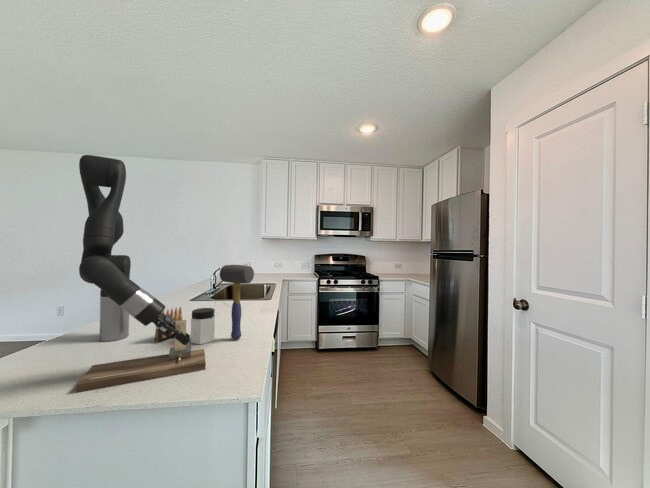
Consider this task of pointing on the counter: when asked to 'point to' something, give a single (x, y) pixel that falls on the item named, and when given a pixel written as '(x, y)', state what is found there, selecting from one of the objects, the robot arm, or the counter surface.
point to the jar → (202, 326)
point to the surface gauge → (180, 345)
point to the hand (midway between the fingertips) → (187, 340)
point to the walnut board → (139, 370)
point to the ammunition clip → (176, 317)
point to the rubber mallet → (236, 291)
